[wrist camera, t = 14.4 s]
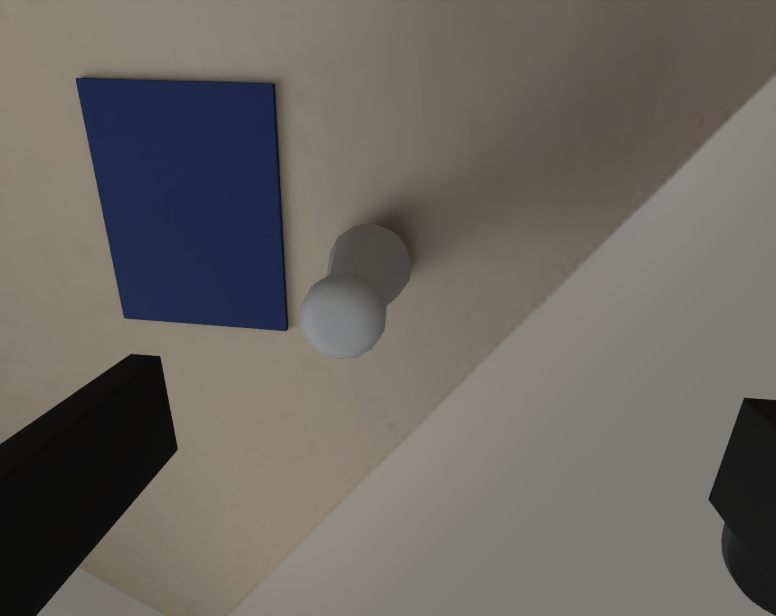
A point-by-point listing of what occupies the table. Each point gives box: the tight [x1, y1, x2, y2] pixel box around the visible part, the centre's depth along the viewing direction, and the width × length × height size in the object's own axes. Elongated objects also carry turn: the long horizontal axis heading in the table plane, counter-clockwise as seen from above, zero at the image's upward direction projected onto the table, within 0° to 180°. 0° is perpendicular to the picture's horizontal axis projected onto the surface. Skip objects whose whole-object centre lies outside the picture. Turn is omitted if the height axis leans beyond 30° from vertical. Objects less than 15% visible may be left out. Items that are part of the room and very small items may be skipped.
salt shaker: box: [300, 224, 411, 359], centre depth 27 cm, size 6×6×13 cm
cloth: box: [76, 78, 288, 331], centre depth 34 cm, size 14×18×1 cm
